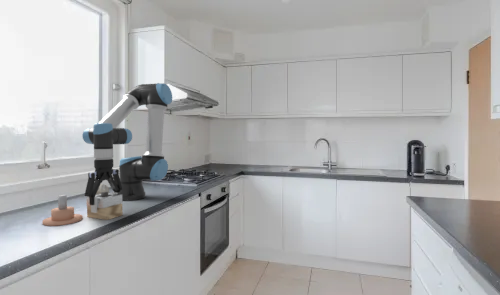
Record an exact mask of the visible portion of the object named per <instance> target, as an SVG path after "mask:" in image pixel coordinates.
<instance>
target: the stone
mask: <svg viewBox="0 0 500 295" xmlns="http://www.w3.org/2000/svg"><path fill="white" fill-rule="evenodd" d="M101 192H108V193H111V192H110V187H109V186H107V184H105V183H101V184H100V186H99V189H98V191H97V193H96V195H98V194H101Z"/></svg>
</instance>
